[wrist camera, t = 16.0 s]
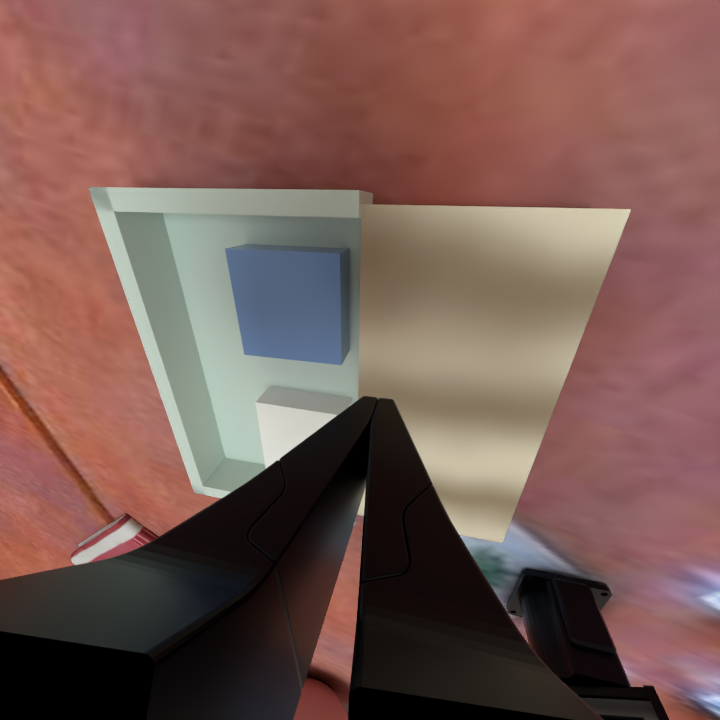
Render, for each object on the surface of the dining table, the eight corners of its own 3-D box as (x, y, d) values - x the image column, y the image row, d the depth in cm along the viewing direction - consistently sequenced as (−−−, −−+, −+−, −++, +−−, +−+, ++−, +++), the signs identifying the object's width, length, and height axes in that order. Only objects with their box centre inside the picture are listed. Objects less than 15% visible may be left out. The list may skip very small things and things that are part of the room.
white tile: (350, 462, 23) (344, 483, 21) (277, 449, 24) (265, 468, 22) (352, 398, 20) (345, 416, 19) (269, 386, 21) (255, 402, 20)
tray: (363, 485, 25) (354, 525, 22) (220, 460, 27) (194, 492, 24) (373, 193, 15) (358, 190, 12) (148, 190, 17) (88, 187, 14)
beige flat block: (493, 504, 23) (502, 543, 20) (364, 481, 24) (356, 514, 22) (592, 208, 14) (631, 209, 11) (372, 204, 15) (361, 204, 13)
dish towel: (205, 629, 48) (194, 651, 46) (80, 542, 42) (59, 561, 40) (271, 615, 41) (262, 640, 38) (131, 507, 35) (110, 528, 33)
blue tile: (349, 350, 19) (341, 365, 17) (260, 341, 20) (244, 354, 18) (349, 248, 16) (339, 253, 14) (245, 243, 17) (224, 248, 15)
